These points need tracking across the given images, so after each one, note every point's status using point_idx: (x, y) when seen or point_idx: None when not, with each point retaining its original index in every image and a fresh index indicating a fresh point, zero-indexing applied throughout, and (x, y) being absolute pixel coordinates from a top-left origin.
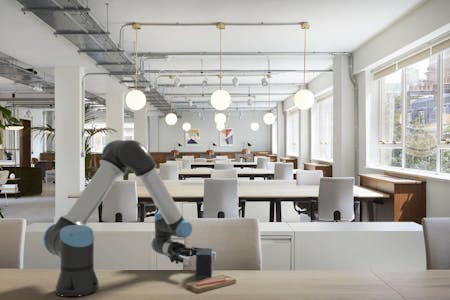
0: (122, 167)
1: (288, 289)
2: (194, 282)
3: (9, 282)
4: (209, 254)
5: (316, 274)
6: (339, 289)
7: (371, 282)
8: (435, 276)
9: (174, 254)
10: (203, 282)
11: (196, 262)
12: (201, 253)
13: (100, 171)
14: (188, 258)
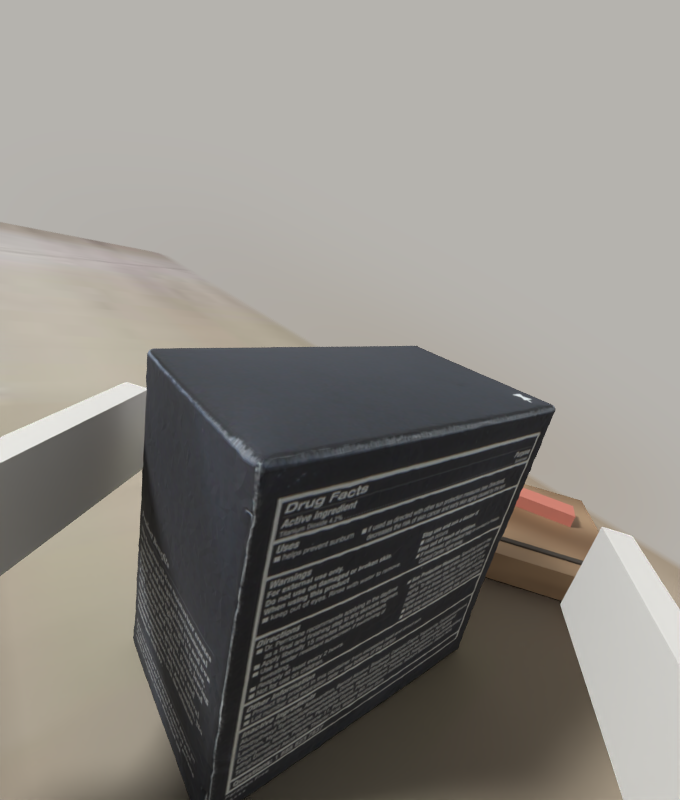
0: None
1: (264, 345)
2: (563, 555)
3: None
4: (425, 350)
5: (33, 297)
6: (197, 298)
7: (104, 268)
8: (17, 228)
9: None
10: (524, 496)
11: (517, 492)
12: (479, 381)
13: None
14: (621, 533)
